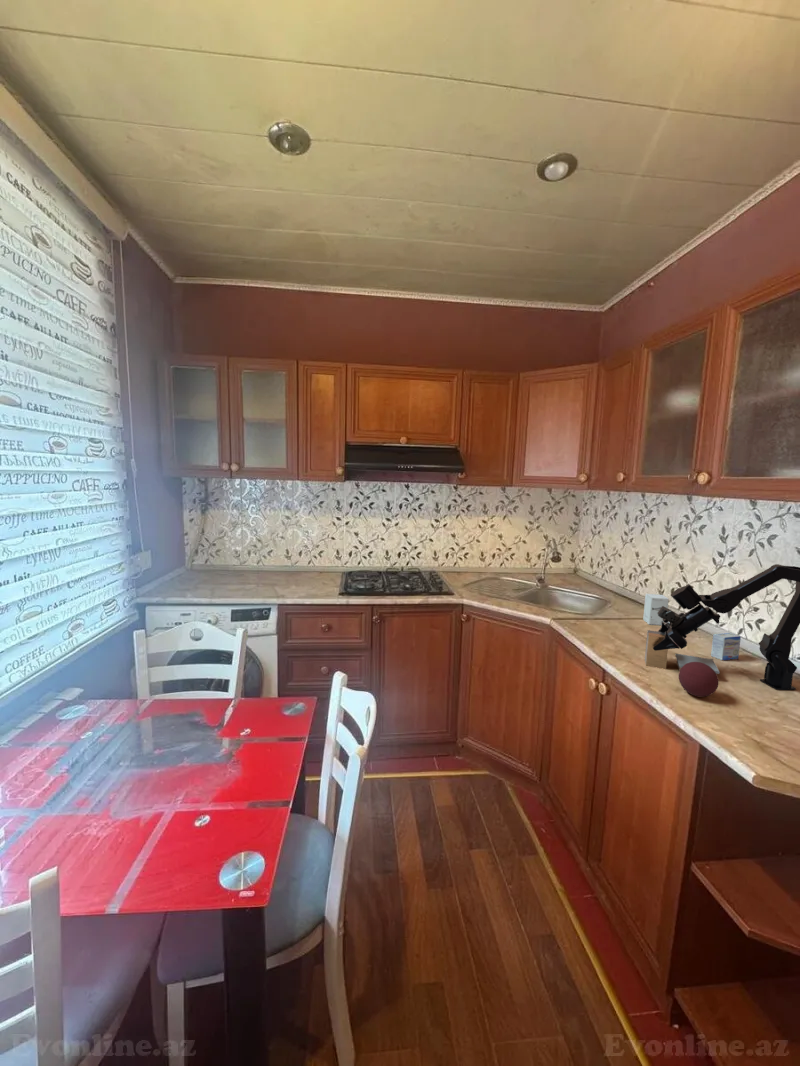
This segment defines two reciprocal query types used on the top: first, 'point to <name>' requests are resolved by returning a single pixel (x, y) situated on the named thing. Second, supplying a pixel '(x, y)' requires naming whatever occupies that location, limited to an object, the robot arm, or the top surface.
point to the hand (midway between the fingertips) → (652, 644)
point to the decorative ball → (698, 679)
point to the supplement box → (654, 608)
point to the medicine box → (725, 646)
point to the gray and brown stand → (687, 659)
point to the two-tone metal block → (653, 656)
